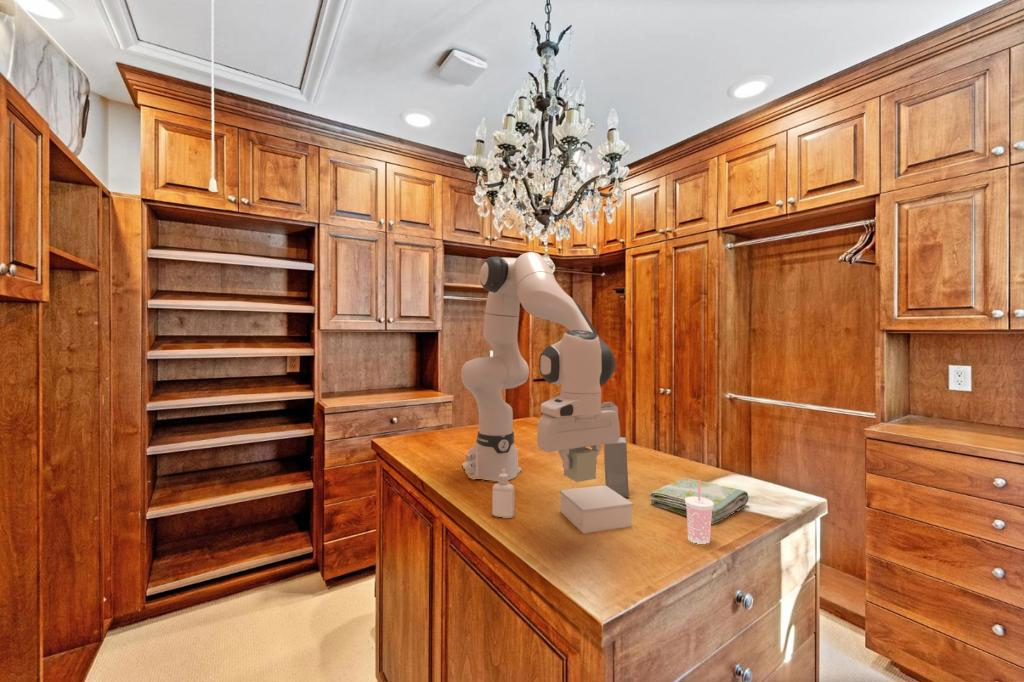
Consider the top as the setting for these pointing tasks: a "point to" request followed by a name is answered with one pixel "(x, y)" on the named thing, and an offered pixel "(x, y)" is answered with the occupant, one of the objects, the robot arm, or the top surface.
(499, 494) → the eye dropper bottle
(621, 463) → the skincare box
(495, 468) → the robot arm
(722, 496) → the towel
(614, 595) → the top surface
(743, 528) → the top surface
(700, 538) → the beverage cup
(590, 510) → the storage box
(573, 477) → the green block
